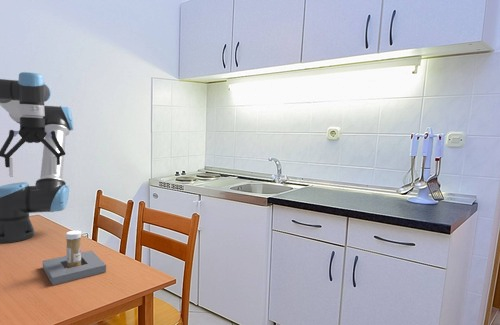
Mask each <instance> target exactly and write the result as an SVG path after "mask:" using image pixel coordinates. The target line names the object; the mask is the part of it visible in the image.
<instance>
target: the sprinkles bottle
mask: <svg viewBox="0 0 500 325" xmlns="http://www.w3.org/2000/svg"><path fill="white" fill-rule="evenodd" d="M81 238H82V231H80V230H69V231H67V232H66V233H65V239H66V256H67V267H66V269H67V268H72V267H76V266H81V265H82V264H81V253H82V246H81V244H82V242H81Z"/></svg>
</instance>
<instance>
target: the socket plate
mask: <svg viewBox="0 0 500 325" xmlns="http://www.w3.org/2000/svg"><path fill="white" fill-rule="evenodd" d="M42 269H43V271H44V272H45V275H46V277H47V278H48V279H49V282H50V284H51V285H52V286H56V285H60V284H63V283H68V282H71V281H77V280H80V279H83V278H87V277H92V276H95V275H99V274H103V273H107V264H106V263H105V262H104V261H103V260H102V258H100V257H99V256H98V255H97V254H96V253H95V252H94V251H93V250H89V251H88V250H87V251H83V252H81V266H76V267H72V268H67V255H64V256H59V257H54V258H50V259H45V260H42Z"/></svg>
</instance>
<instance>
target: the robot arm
mask: <svg viewBox="0 0 500 325" xmlns="http://www.w3.org/2000/svg"><path fill="white" fill-rule="evenodd" d="M51 96H52V91H51V90H50V88H49V87H48V85H47V84H45V78H44V75H43V74H41V73H35V72H25V71H24V72H20V73H19V74H18V80H16V79H5V78H4V79H3V78H0V107H1V108H3V109H4V110H5V111H6V112H7V113H8V116H9V117H10V118H11V119H12V120H13V121H15V122H16V123H17V124H19V130H14V129H9V131H8V136H7V138H6V140H5V142H4V143H3V145H2V146H1V148H0V157H1V158H4V166H5V167H6V168H8V173H9V174H8V176H9V177H10V178H13V177H14V170H13V169H14V167H13V166H14V165H13V158H12V155H14V153H16V152H17V151H18V149H20V147H22V146H23V145H24V144H25V143H28V144H33V143H34V144H35V143H36V144H39V143H42V145H43V151H42V158H41V170H40V175H39V176H40V178H38V179H37V180H36V181H35V185H30V184H29V182H27V181H23V182H12V183H7V184H3V185H0V244H9V243H15V242H16V243H17V242H21V241H25V240H28V239H30V238H32V237H34V236H35V228H34V226H33V224H32V222H31V219H30V214H32V213H33V214H34V213H54V212H62V211H64V210H65V209H66V207H67V205H68V201H69V196H70V194H69V193H70V187H69V185H67V182H66V181H65V180H64V179H63V176H64V175H63V173H64V172H63V171H64V161H65V155H66V151H65V147H66V137H67V136H68V135H69V134H70V132H71V131H74V121H73V115H72V110H71V108H70V107H68V106H62V105H59V106H58V105H57V106H55V105H45V102H47V101H49V99H50V98H51ZM17 135H19V136H20V137H21V138H20V139H19V140H18V141H17V142H16V144H14V145H13V146H12V148H10V149H9V150H8V148H9V147H10V145H11V143H12V141H13V139H14V137H17ZM7 150H8V152H7V153H6V151H7Z"/></svg>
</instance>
